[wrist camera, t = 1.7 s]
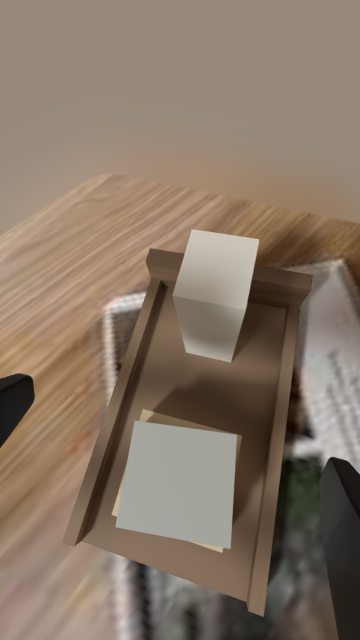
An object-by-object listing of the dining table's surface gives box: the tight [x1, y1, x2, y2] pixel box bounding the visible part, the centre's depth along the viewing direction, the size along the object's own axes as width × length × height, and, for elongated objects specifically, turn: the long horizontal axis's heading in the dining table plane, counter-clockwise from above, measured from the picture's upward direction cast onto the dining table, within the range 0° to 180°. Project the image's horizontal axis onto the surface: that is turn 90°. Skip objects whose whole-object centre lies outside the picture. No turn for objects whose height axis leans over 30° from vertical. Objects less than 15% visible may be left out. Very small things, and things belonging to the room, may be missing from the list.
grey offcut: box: [115, 421, 237, 549], centre depth 16 cm, size 5×6×2 cm
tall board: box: [172, 229, 259, 362], centre depth 19 cm, size 4×4×10 cm
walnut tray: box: [63, 248, 312, 617], centre depth 20 cm, size 20×12×4 cm, turn 166°
